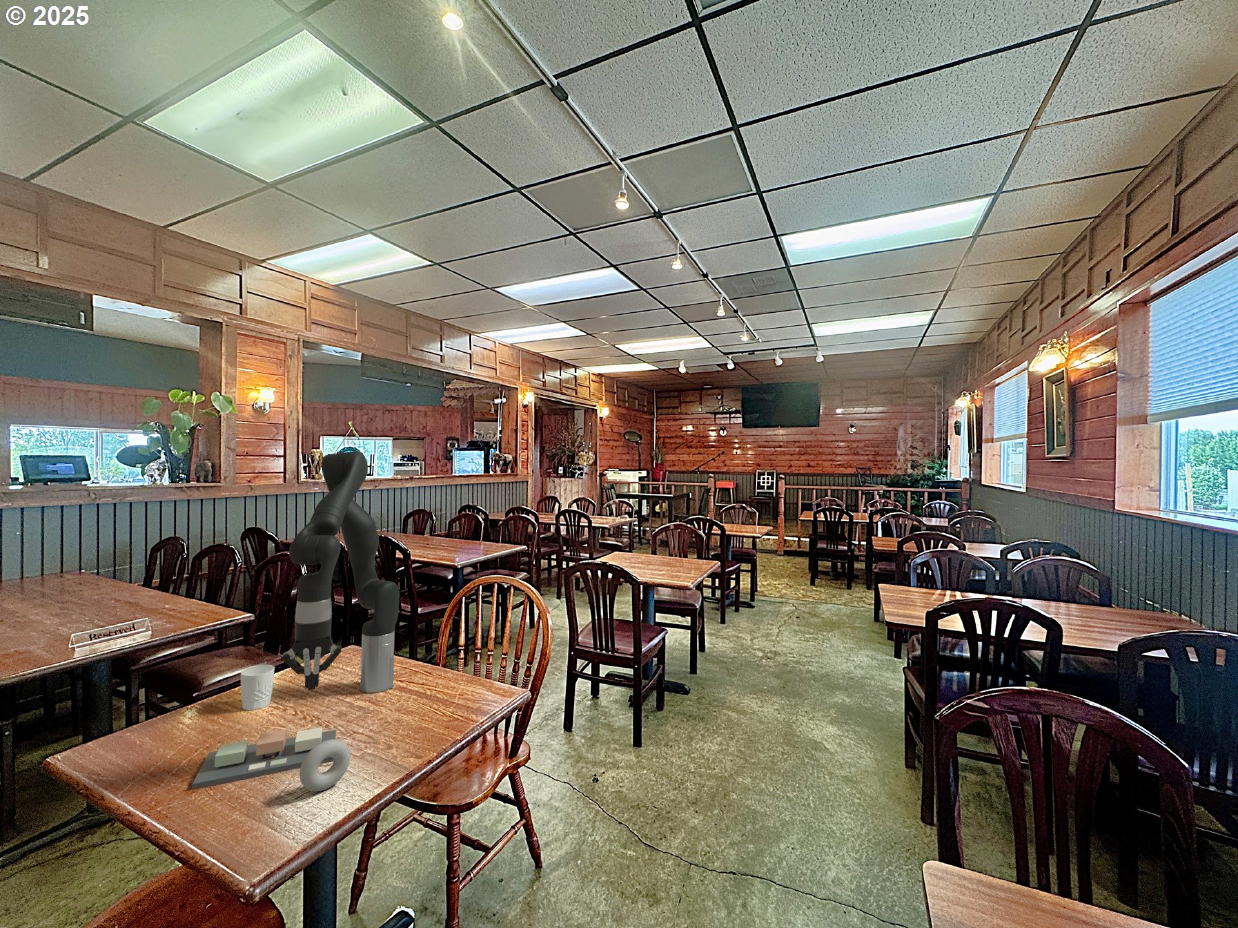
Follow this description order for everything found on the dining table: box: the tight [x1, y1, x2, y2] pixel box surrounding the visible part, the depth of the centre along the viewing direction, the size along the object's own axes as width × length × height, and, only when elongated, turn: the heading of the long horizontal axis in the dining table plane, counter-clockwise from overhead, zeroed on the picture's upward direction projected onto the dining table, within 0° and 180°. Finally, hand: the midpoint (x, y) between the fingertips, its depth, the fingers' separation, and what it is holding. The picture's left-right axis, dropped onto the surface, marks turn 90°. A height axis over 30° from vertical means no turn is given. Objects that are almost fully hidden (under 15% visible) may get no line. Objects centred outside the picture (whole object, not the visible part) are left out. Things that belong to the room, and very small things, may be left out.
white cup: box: [240, 664, 276, 711], centre depth 145 cm, size 8×8×10 cm
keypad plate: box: [191, 729, 337, 790], centre depth 119 cm, size 26×13×2 cm, turn 117°
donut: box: [299, 739, 351, 792], centre depth 109 cm, size 10×4×10 cm, turn 141°
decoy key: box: [256, 729, 288, 758], centre depth 119 cm, size 5×5×4 cm
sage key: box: [215, 739, 249, 767], centre depth 115 cm, size 5×5×4 cm
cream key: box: [295, 727, 323, 752], centre depth 122 cm, size 5×5×4 cm
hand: (311, 688), depth 123 cm, fingers closed
